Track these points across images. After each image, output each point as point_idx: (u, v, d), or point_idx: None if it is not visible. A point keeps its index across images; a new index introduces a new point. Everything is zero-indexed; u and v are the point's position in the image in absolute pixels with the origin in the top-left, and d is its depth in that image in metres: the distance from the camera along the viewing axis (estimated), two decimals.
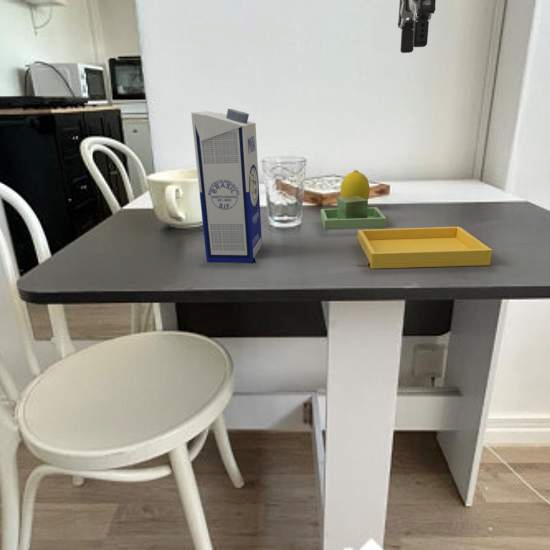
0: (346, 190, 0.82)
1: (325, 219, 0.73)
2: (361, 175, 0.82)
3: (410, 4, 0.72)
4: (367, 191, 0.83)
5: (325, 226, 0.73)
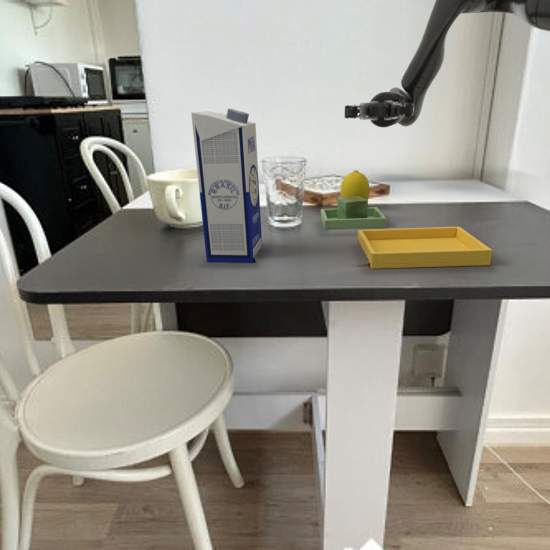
0: (346, 190, 0.82)
1: (325, 219, 0.73)
2: (361, 175, 0.82)
3: None
4: (367, 191, 0.83)
5: (325, 226, 0.73)
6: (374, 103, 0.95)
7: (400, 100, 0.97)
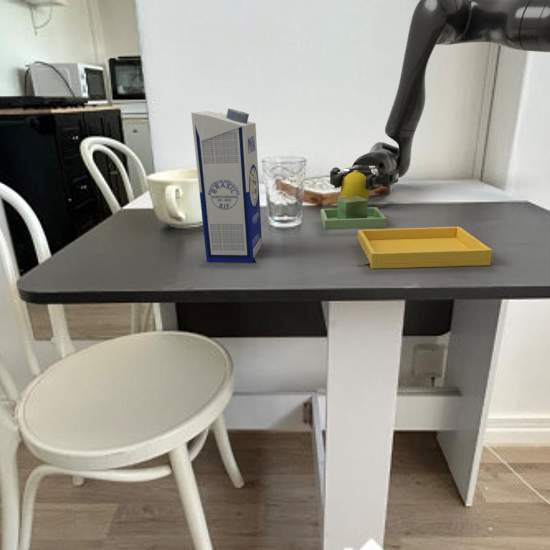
0: (346, 190, 0.82)
1: (325, 219, 0.73)
2: (361, 175, 0.82)
3: None
4: (367, 191, 0.83)
5: (325, 226, 0.73)
6: (357, 168, 0.89)
7: (385, 163, 0.91)
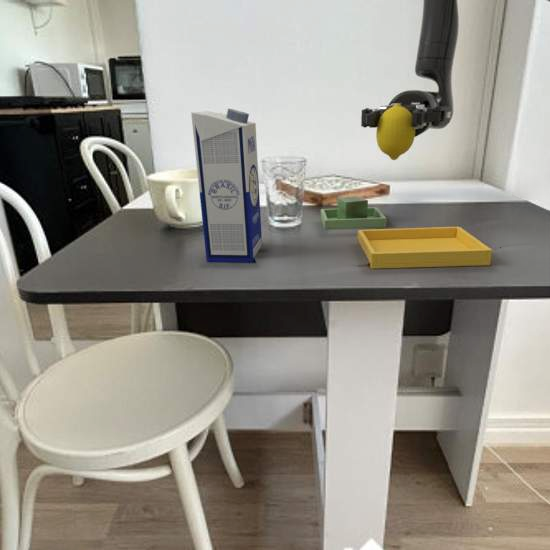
0: (385, 130, 0.63)
1: (325, 219, 0.73)
2: (405, 110, 0.63)
3: None
4: (412, 131, 0.63)
5: (325, 226, 0.73)
6: None
7: (430, 101, 0.71)
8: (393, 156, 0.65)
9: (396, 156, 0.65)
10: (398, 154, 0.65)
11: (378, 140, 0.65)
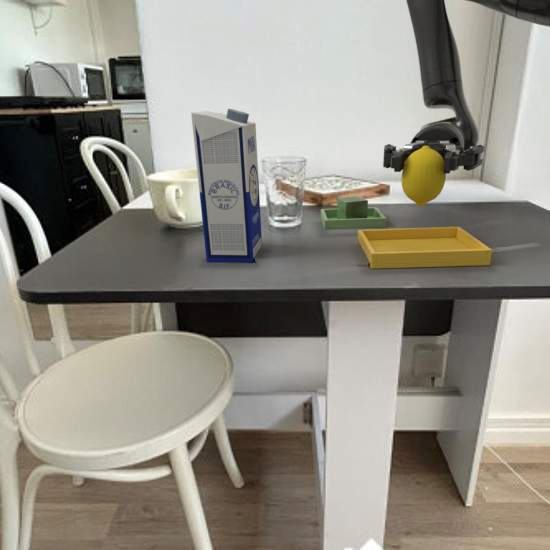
0: (413, 176, 0.56)
1: (325, 219, 0.73)
2: (435, 153, 0.56)
3: None
4: (443, 177, 0.56)
5: (325, 226, 0.73)
6: None
7: (459, 138, 0.64)
8: (420, 203, 0.58)
9: (423, 203, 0.58)
10: (426, 201, 0.58)
11: (404, 185, 0.58)
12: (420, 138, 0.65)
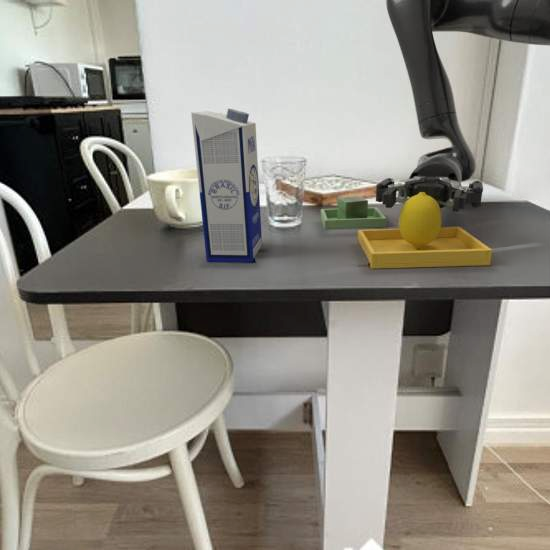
0: (410, 221, 0.58)
1: (325, 219, 0.73)
2: (431, 200, 0.58)
3: None
4: (439, 222, 0.58)
5: (325, 226, 0.73)
6: (420, 180, 0.64)
7: (457, 173, 0.66)
8: (417, 246, 0.60)
9: (420, 246, 0.60)
10: (422, 244, 0.60)
11: (401, 229, 0.60)
12: (419, 173, 0.67)
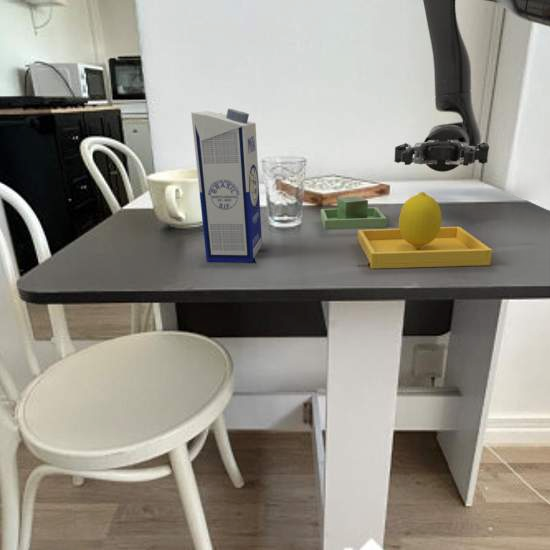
0: (410, 221, 0.58)
1: (325, 219, 0.73)
2: (431, 200, 0.58)
3: (419, 163, 0.74)
4: (439, 222, 0.58)
5: (325, 226, 0.73)
6: (433, 143, 0.73)
7: (465, 138, 0.75)
8: (417, 246, 0.60)
9: (420, 246, 0.60)
10: (422, 244, 0.60)
11: (401, 229, 0.60)
12: (432, 138, 0.76)
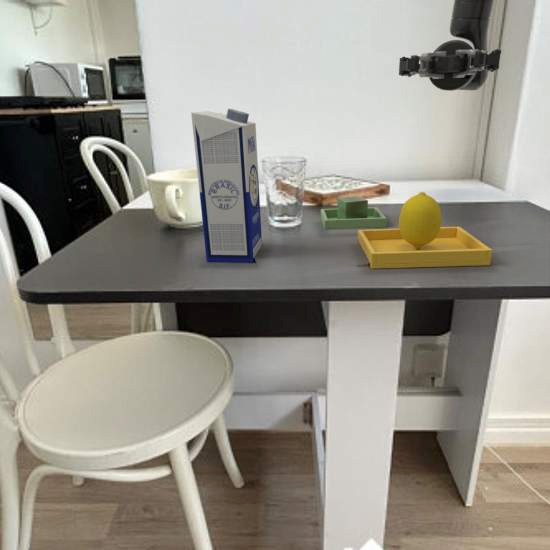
0: (410, 221, 0.58)
1: (325, 219, 0.73)
2: (431, 200, 0.58)
3: None
4: (439, 222, 0.58)
5: (325, 226, 0.73)
6: (441, 54, 0.68)
7: None
8: (417, 246, 0.60)
9: (420, 246, 0.60)
10: (422, 244, 0.60)
11: (401, 229, 0.60)
12: None
